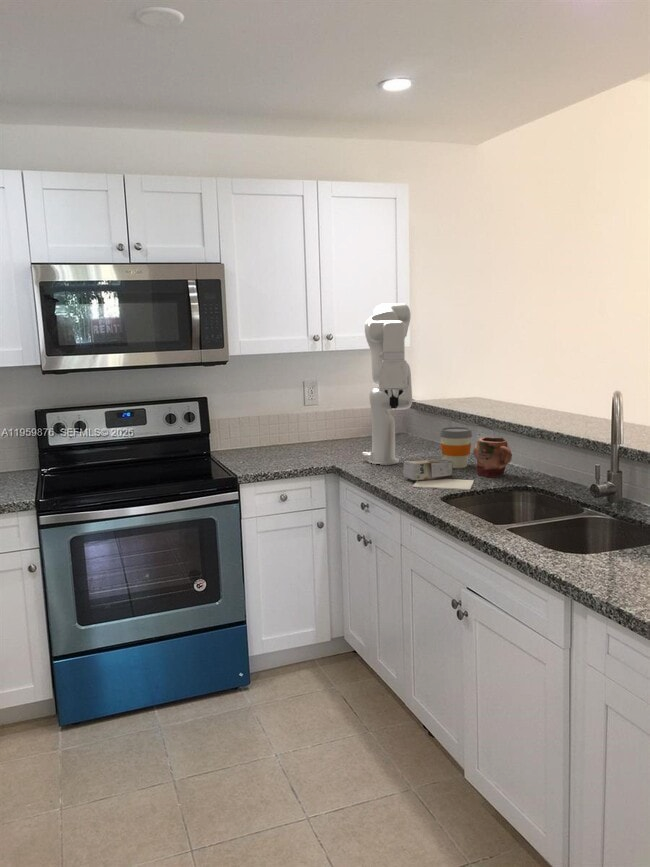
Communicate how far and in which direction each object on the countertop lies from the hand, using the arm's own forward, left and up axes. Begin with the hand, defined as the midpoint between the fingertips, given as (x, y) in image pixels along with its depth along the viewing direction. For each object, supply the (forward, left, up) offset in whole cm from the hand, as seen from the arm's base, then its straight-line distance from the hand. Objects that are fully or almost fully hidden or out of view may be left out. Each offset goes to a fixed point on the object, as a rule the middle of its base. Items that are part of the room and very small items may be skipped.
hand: (394, 407), depth 256 cm
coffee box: (+4, +4, -24) cm, 24 cm away
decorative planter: (+34, +20, -28) cm, 48 cm away
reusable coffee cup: (+18, +35, -28) cm, 48 cm away
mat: (+18, +1, -28) cm, 33 cm away
